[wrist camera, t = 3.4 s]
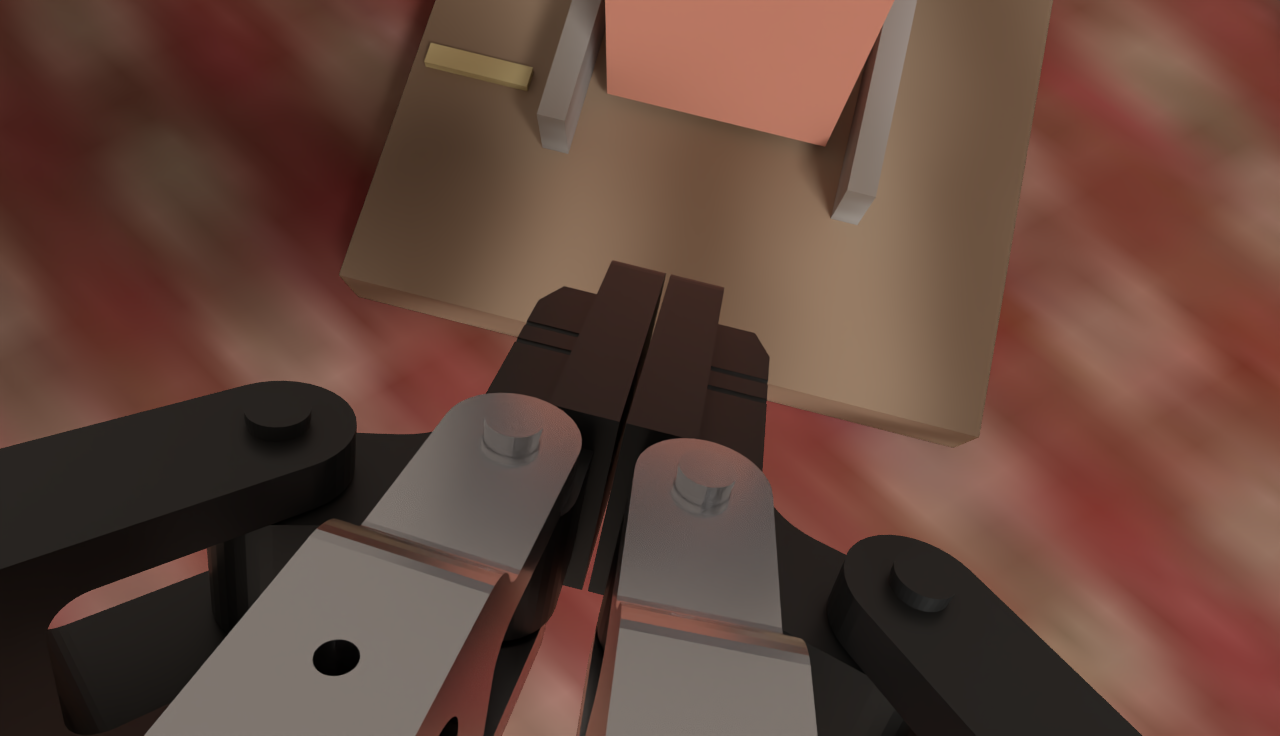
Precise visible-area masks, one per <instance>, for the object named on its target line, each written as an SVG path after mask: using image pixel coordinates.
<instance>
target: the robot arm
mask: <svg viewBox="0 0 1280 736" xmlns="http://www.w3.org/2000/svg"><path fill="white" fill-rule="evenodd" d="M665 277H666V273H663V272H659V271H655V270H651V269H647V268H643V267H639V266H635V265H630V264H626V263H622V262H618V261H614V260H612V261H611V263H610V266H609V268H608V270H607V272H606V275H605V277H604V279H603V281H602V284H601V286H600V288H599V290H598V293H597V294H594V293H590V292H586V291H582V290H578V289H574V288H570V287H566V286H563V287H561V288H560V289H558V290H556V291H554V292H552V293H550V294H548V295H547V296H545V297H543V298H541V299H539V300H538V302H537V304H536V305H535V307H534V309H533V311H532V312H531V314H530V316H529V318H528V320H527V323H526V325H524V327H523V328H522V330H521V332H520V334H519V336H518V338H517V342H515V343H514V344H513V346H512V348H511V350H510V352H509V353H508V355H507V357H506V359H505V361H504V362H503V364H502V366H501V368H500V369H499V371H498V373H497V375H496V377H495V378H494V380H493V382H492V384H491V385H490V387H489V389H488V391H487V393H486V394H483V395H478V396H475V397H471V398H468V399H466V400H464V401H462V402H460V403H458V404H457V405H455V406H454V407H453V408H452V409H451V410H450V411H449V412H448V413H447V414H446V415H445V416H444V418H443V419H442V420H441V422H440V423H439V424H438V425H437V427H436V428H435V429H434V431H433V432H429V433H421V434H371V433H356V429H357V423H356V416H355V414H354V412H353V409H352V408H351V407H350V406H349V404H348V403H347V402H346V401H345V400H343V399H342V398H341V397H340V396H338V395H336V394H335V393H333V392H331V391H329V390H327V389H324V388H322V387H319V386H315V385H312V384H307V383H301V382H293V381H268V382H259V383H254V384H249V385H245V386H241V387H237V388H233V389H229V390H225V391H222V392H218V393H214V394H210V395H206V396H202V397H198V398H194V399H191V400H187V401H183V402H179V403H175V404H171V405H167V406H164V407H160V408H156V409H152V410H148V411H144V412H140V413H137V414H133V415H129V416H125V417H121V418H117V419H113V420H110V421H106V422H102V423H98V424H94V425H90V426H86V427H83V428H79V429H75V430H71V431H67V432H63V433H59V434H55V435H52V436H48V437H44V438H40V439H36V440H32V441H28V442H25V443H21V444H17V445H13V446H9V447H5V448H1V449H0V736H502V734H503V732H504V730H505V727H506V725H507V723H508V720H509V718H510V716H511V713H512V711H513V709H514V706H515V704H516V702H517V699H518V697H519V695H520V692H521V690H522V688H523V685H524V683H525V681H526V678H527V676H528V674H529V671H530V669H531V667H532V664H533V662H534V660H535V657H536V655H537V653H538V650H539V648H540V646H541V643H542V640H543V636H544V632H545V627H546V622H547V621H548V620H549V618H550V617H551V616H552V614H553V612H554V609H555V607H556V604H557V601H558V598H559V594H560V591H561V588H562V585H565V586H569V587H573V588H577V589H580V590H582V588H583V585H584V581H585V578H586V574H587V571H588V567H589V564H590V561H591V557H592V554H593V550H594V547H595V543H596V540H597V537H598V533H599V530H600V526H601V523H602V519H603V516H604V512H605V509H606V506H607V502H608V506H607V510H606V514H605V519H604V523H603V527H602V532H601V536H600V541H599V545H598V549H597V554H596V558H595V562H594V567H593V571H592V575H591V580H590V584H589V589H588V591H589V592H593V593H597V594H601V595H604V596H603V600H602V605H601V609H600V613H599V617H598V622H597V626H596V630H595V634H594V638H593V642H592V646H591V650H590V654H589V660H588V666H587V672H586V678H585V685H584V691H583V697H582V703H581V709H580V716H579V722H578V728H577V734H576V736H1142V735H1141V734H1140V733H1139V732H1138V731H1137V730H1136V729H1135V728H1134V727H1133V726H1132V725H1131V724H1130V723H1129V722H1128V721H1127V720H1125V719H1124V718H1123V717H1122V716H1121V715H1120V714H1119V713H1118V712H1117V711H1116V710H1115V709H1114V708H1113V707H1112V706H1111V705H1110V704H1109V703H1108V702H1107V701H1106V700H1105V699H1104V698H1103V697H1102V696H1100V695H1099V694H1098V693H1097V692H1096V691H1095V690H1094V689H1093V688H1092V687H1091V686H1090V685H1089V684H1088V683H1087V682H1086V681H1085V680H1084V679H1083V678H1082V677H1081V676H1080V675H1079V674H1078V673H1076V672H1075V671H1074V670H1073V669H1072V668H1071V667H1070V666H1069V665H1068V664H1067V663H1066V662H1065V661H1064V660H1063V659H1062V658H1061V657H1060V656H1059V655H1058V654H1057V653H1056V652H1055V651H1054V650H1053V649H1051V648H1050V647H1049V646H1048V645H1047V644H1046V643H1045V642H1044V641H1043V640H1042V639H1041V638H1040V637H1039V636H1038V635H1037V634H1036V633H1035V632H1034V631H1033V630H1032V629H1031V628H1030V627H1029V626H1028V625H1026V624H1025V623H1024V622H1023V621H1022V620H1021V619H1020V618H1019V617H1018V616H1017V615H1016V614H1015V613H1014V612H1013V611H1012V610H1011V609H1010V608H1009V607H1008V606H1007V605H1006V604H1005V603H1004V602H1002V601H1001V600H1000V599H999V598H998V597H997V596H996V595H995V594H994V593H993V592H992V591H991V590H990V589H989V588H988V587H987V586H986V585H985V584H984V583H983V582H982V581H981V580H980V579H979V578H977V577H976V576H975V575H974V574H973V573H972V572H971V571H970V570H969V569H968V568H967V567H965V566H964V565H963V564H962V563H961V562H959V561H958V560H957V559H955V558H954V557H952V556H951V555H949V554H948V553H946V552H944V551H942V550H940V549H939V548H937V547H934V546H932V545H930V544H928V543H925V542H922V541H919V540H916V539H913V538H908V537H904V536H896V535H877V536H872V537H868V538H865V539H863V540H860V541H859V542H857V543H856V544H855V545H853V546H852V548H851V549H850V550H849V551H848V553H847V555H845V554H843V553H841V552H839V551H837V550H835V549H833V548H831V547H829V546H827V545H825V544H823V543H821V542H819V541H817V540H815V539H813V538H812V537H810V536H808V535H806V534H804V533H803V532H801V531H800V530H799V529H797V528H796V527H794V526H793V525H792V524H790V523H789V522H788V521H787V520H786V519H785V518H783V516H782V515H781V514H780V513H779V512H778V511H777V510H776V509H775V508H774V505H773V494H772V489H771V486H770V484H769V482H768V480H767V478H766V477H765V475H764V474H763V472H762V468H763V453H764V437H765V422H766V407H767V404H766V401H767V391H768V385H767V383H768V376H769V360H770V357H769V355H768V353H767V352H766V350H765V348H764V347H763V345H762V344H761V342H760V340H759V339H758V337H757V335H756V334H755V333H753V332H749V331H745V330H741V329H737V328H733V327H729V326H725V325H721V324H718V323H719V317H720V311H721V305H722V299H723V294H724V287H721V286H717V285H712V284H708V283H704V282H700V281H696V280H692V279H688V278H684V277H680V276H676V275H672V274H671V275H670V278H669V282H668V285H667V288H666V292H665V295H664V298H663V302H662V305H661V309H660V312H659V315H658V319H657V322H656V325H655V321H656V317H657V313H658V308H659V304H660V300H661V295H662V291H663V287H664V282H665ZM654 325H655V329H654ZM653 330H654V332H653ZM652 334H653V335H652ZM651 338H652V339H651ZM609 495H610V497H609ZM608 499H609V501H608ZM206 548H207V555H208V568H209V571H206V572H204V573H201V574H199V575H196V576H193V577H191V578H188V579H185V580H183V581H180V582H178V583H175V584H172V585H170V586H167V587H164V588H162V589H159V590H157V591H154V592H151V593H149V594H146V595H143V596H141V597H138V598H136V599H133V600H130V601H128V602H125V603H122V604H120V605H117V606H115V607H112V608H109V609H107V610H104V611H101V612H99V613H96V614H94V615H91V616H88V617H86V618H83V619H80V620H78V621H75V622H73V623H70V624H67V625H65V626H61V627H58V628H54V629H48V627H49V625H50V623H51V621H52V620H53V618H54V616H55V615H56V614H57V613H58V612H59V611H60V610H61V609H62V608H63V607H64V606H65V605H66V604H68V603H69V602H71V601H72V600H73V599H75V598H77V597H78V596H80V595H82V594H84V593H86V592H88V591H91V590H93V589H96V588H99V587H101V586H104V585H107V584H110V583H112V582H115V581H118V580H121V579H123V578H126V577H129V576H132V575H134V574H137V573H140V572H143V571H145V570H148V569H151V568H154V567H156V566H159V565H162V564H165V563H167V562H170V561H173V560H176V559H178V558H181V557H184V556H186V555H189V554H192V553H195V552H197V551H200V550H203V549H206ZM47 629H48V630H47Z"/></svg>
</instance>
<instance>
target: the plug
mask: <svg viewBox="0 0 1280 736" xmlns="http://www.w3.org/2000/svg"><path fill="white" fill-rule="evenodd" d="M893 3H894V0H605V14H606V65H607V94H611V95H615V96H619V97H623V98H627V99H631V100H635V101H639V102H644V103H648V104H652V105H656V106H660V107H664V108H668V109H672V110H676V111H680V112H685V113H689V114H693V115H697V116H701V117H705V118H709V119H713V120H717V121H721V122H726V123H730V124H734V125H738V126H742V127H746V128H750V129H754V130H758V131H762V132H767V133H771V134H775V135H779V136H783V137H787V138H791V139H795V140H799V141H803V142H808V143H812V144H816V145H820V146H824V147H825V146H826V144H827V142H828V140H829V138H830V136H831V134H832V131H833V129H834V127H835V125H836V123H837V121H838V119H839V117H840V115H841V112H842V110H843V108H844V106H845V104H846V102H847V100H848V98H849V96H850V93H851V91H852V89H853V87H854V85H855V83H856V81H857V79H858V77H859V74H860V72H861V70H862V68H863V66H864V64H865V62H866V60H867V57H868V55H869V53H870V51H871V49H872V47H873V45H874V43H875V41H876V38H877V36H878V34H879V32H880V30H881V28H882V26H883V24H884V22H885V19H886V17H887V15H888V13H889V11H890V9H891V7H892V5H893Z"/></svg>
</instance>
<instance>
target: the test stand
mask: <svg viewBox="0 0 1280 736" xmlns="http://www.w3.org/2000/svg"><path fill="white" fill-rule="evenodd" d="M1052 3H1053V0H894V3H893V5H892V7H891V9H890V11H889V13H888V15H887V17H886V19H885V22H884V24H883V26H882V28H881V30H880V32H879V34H878V36H877V38H876V41H875V43H874V45H873V47H872V49H871V51H870V53H869V55H868V57H867V60H866V62H865V64H864V66H863V68H862V70H861V72H860V74H859V77H858V79H857V81H856V83H855V85H854V87H853V89H852V91H851V93H850V96H849V98H848V100H847V102H846V104H845V106H844V108H843V110H842V112H841V115H840V117H839V119H838V121H837V123H836V125H835V127H834V129H833V131H832V134H831V136H830V138H829V140H828V142H827V144H826V146H825V147H824V146H820V145H816V144H812V143H808V142H803V141H799V140H795V139H791V138H787V137H783V136H779V135H775V134H771V133H767V132H762V131H758V130H754V129H750V128H746V127H742V126H738V125H734V124H730V123H726V122H721V121H717V120H713V119H709V118H705V117H701V116H697V115H693V114H689V113H685V112H680V111H676V110H672V109H668V108H664V107H660V106H656V105H652V104H648V103H644V102H639V101H635V100H631V99H627V98H623V97H619V96H615V95H611V94H607V65H606V14H605V0H435V3H434V6H433V9H432V12H431V15H430V17H429V20H428V23H427V26H426V29H425V32H424V34H423V37H422V40H421V43H420V46H419V49H418V51H417V54H416V57H415V60H414V63H413V66H412V69H411V71H410V74H409V77H408V80H407V83H406V86H405V88H404V91H403V94H402V97H401V100H400V103H399V105H398V108H397V111H396V114H395V117H394V120H393V123H392V125H391V128H390V131H389V134H388V137H387V140H386V142H385V145H384V148H383V151H382V154H381V157H380V159H379V162H378V165H377V168H376V171H375V174H374V176H373V179H372V182H371V185H370V188H369V191H368V194H367V196H366V199H365V202H364V205H363V208H362V211H361V213H360V216H359V219H358V222H357V225H356V228H355V230H354V233H353V236H352V239H351V242H350V245H349V248H348V250H347V253H346V256H345V259H344V262H343V265H342V267H341V270H340V273H339V276H340V277H341V278H342V279H343V280H344V281H345V282H346V284H347V285H348V286H349V287H350V288H351V289H352V290H353V291H354V293H355V294H356V295H357V296H358V297H362V298H366V299H370V300H374V301H378V302H382V303H386V304H389V305H393V306H397V307H401V308H405V309H409V310H413V311H417V312H421V313H425V314H429V315H433V316H437V317H441V318H445V319H449V320H452V321H456V322H460V323H464V324H468V325H472V326H476V327H480V328H484V329H488V330H492V331H496V332H500V333H504V334H508V335H512V336H515V337H518V336H519V334H520V332H521V330H522V328H523V327H524V325H526V323H527V320H528V318H529V316H530V314H531V312H532V311H533V309H534V307H535V305H536V304H537V302H538V300H539V299H541V298H543V297H545V296H547V295H548V294H550V293H552V292H554V291H556V290H558V289H560V288H561V287H563V286H566V287H570V288H574V289H578V290H582V291H586V292H590V293H594V294H597V293H598V290H599V288H600V286H601V284H602V281H603V279H604V277H605V275H606V272H607V270H608V268H609V266H610V263H611V261H612V260H614V261H618V262H622V263H626V264H630V265H635V266H639V267H643V268H647V269H651V270H655V271H659V272H663V273H666V277H665V282H664V287H663V291H662V295H661V300H660V304H659V308H658V313H657V317H656V321H655V325H656V322H657V319H658V315H659V312H660V309H661V305H662V302H663V298H664V295H665V292H666V288H667V285H668V282H669V278H670V275H671V274H672V275H676V276H680V277H684V278H688V279H692V280H696V281H700V282H704V283H708V284H712V285H717V286H721V287H724V294H723V299H722V305H721V311H720V317H719V323H718V324H721V325H725V326H729V327H733V328H737V329H741V330H745V331H749V332H753V333H755V334H756V335H757V337H758V339H759V340H760V342H761V344H762V345H763V347H764V348H765V350H766V352H767V353H768V355H769V357H770V360H769V376H768V383H767V385H768V391H767V401H771V402H775V403H779V404H783V405H787V406H791V407H795V408H799V409H803V410H807V411H811V412H815V413H819V414H822V415H826V416H830V417H834V418H838V419H842V420H846V421H850V422H854V423H858V424H862V425H866V426H870V427H874V428H878V429H882V430H885V431H889V432H893V433H897V434H901V435H905V436H909V437H913V438H917V439H921V440H925V441H929V442H933V443H937V444H941V445H944V446H948V447H952V448H954V447H957V446H959V445H961V444H964V443H966V442H969V441H971V440H974V439H976V438H978V437H979V435H980V429H981V423H982V417H983V411H984V405H985V399H986V393H987V387H988V381H989V375H990V370H991V364H992V358H993V352H994V346H995V340H996V334H997V328H998V322H999V316H1000V310H1001V304H1002V299H1003V293H1004V287H1005V281H1006V275H1007V269H1008V263H1009V257H1010V251H1011V245H1012V239H1013V233H1014V228H1015V222H1016V216H1017V210H1018V204H1019V198H1020V192H1021V186H1022V180H1023V174H1024V168H1025V162H1026V157H1027V151H1028V145H1029V139H1030V133H1031V127H1032V121H1033V115H1034V109H1035V103H1036V97H1037V91H1038V86H1039V80H1040V74H1041V68H1042V62H1043V56H1044V50H1045V44H1046V38H1047V32H1048V26H1049V20H1050V15H1051V9H1052ZM655 325H654V329H655ZM653 332H654V330H653ZM652 335H653V334H652ZM651 339H652V338H651Z"/></svg>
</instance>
